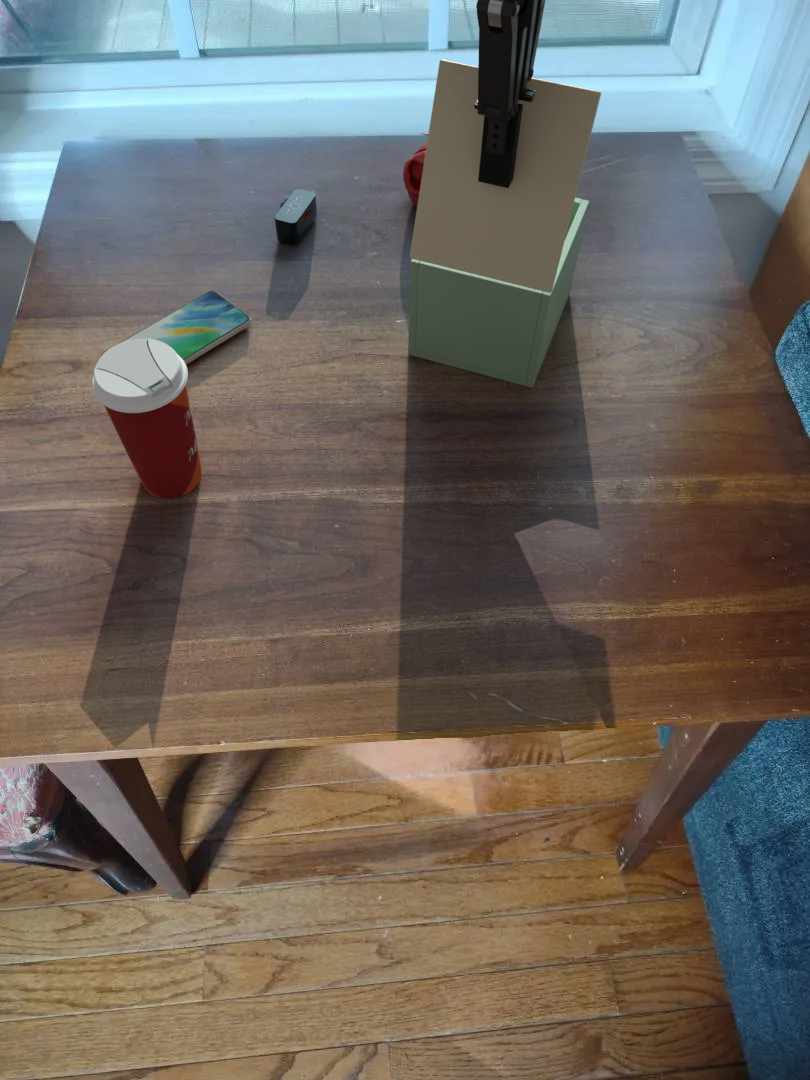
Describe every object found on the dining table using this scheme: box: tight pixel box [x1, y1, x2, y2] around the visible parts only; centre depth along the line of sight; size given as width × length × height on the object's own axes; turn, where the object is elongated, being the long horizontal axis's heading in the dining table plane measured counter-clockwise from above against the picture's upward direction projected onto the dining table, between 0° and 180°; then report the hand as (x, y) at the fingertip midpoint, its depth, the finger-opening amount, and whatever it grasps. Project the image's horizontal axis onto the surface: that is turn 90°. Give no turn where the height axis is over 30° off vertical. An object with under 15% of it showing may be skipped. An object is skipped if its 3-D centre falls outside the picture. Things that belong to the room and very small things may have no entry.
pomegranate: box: [402, 132, 429, 208], centre depth 102 cm, size 10×10×9 cm
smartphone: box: [99, 290, 252, 365], centre depth 91 cm, size 7×1×15 cm
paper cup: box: [91, 339, 202, 500], centre depth 75 cm, size 8×8×14 cm
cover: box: [409, 59, 602, 293], centre depth 75 cm, size 16×14×1 cm
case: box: [407, 197, 590, 389], centre depth 89 cm, size 16×14×12 cm
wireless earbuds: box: [274, 188, 318, 246], centre depth 101 cm, size 5×7×3 cm, turn 160°
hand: (495, 179), depth 74 cm, fingers closed
